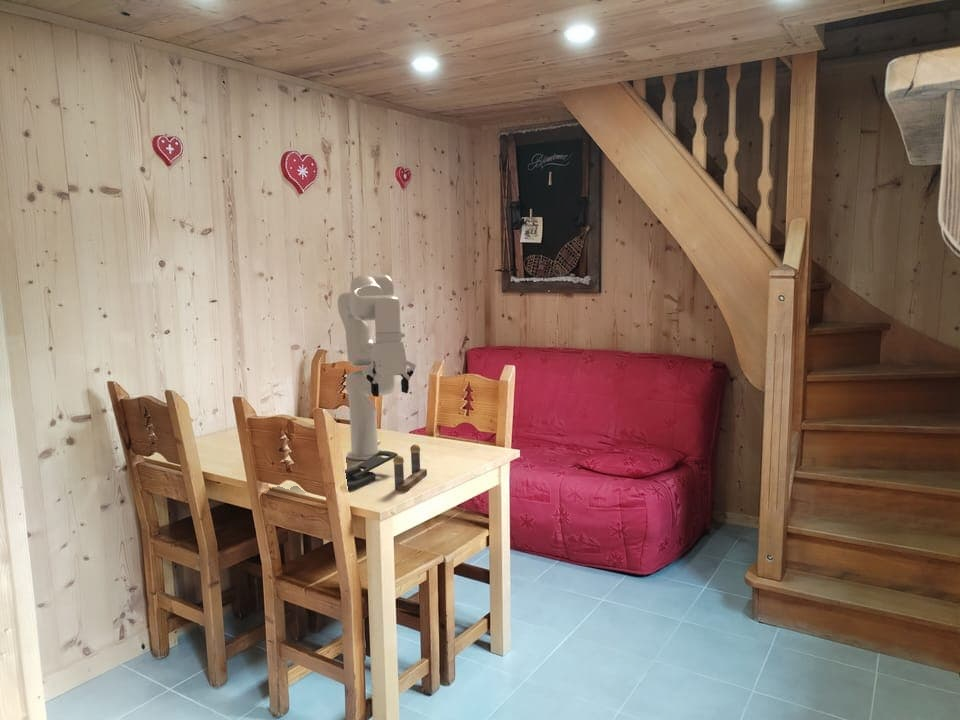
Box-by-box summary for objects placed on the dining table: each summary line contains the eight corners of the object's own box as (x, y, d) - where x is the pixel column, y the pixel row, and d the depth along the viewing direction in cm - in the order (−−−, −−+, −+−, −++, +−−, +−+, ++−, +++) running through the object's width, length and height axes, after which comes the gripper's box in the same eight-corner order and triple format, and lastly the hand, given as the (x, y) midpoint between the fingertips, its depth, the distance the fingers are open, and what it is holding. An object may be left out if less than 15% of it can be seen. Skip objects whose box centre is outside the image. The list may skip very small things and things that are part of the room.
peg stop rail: (413, 474, 220) (412, 442, 219) (426, 475, 219) (425, 443, 218) (392, 491, 203) (390, 457, 202) (406, 492, 202) (405, 457, 200)
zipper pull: (400, 452, 223) (348, 471, 202) (401, 472, 223) (349, 493, 202) (380, 449, 227) (326, 467, 206) (380, 468, 228) (327, 488, 207)
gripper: (408, 335, 208) (410, 389, 210) (356, 339, 198) (358, 395, 200) (419, 336, 201) (421, 392, 203) (366, 340, 192) (368, 399, 194)
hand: (390, 394), depth 202 cm, fingers open, 9 cm apart
